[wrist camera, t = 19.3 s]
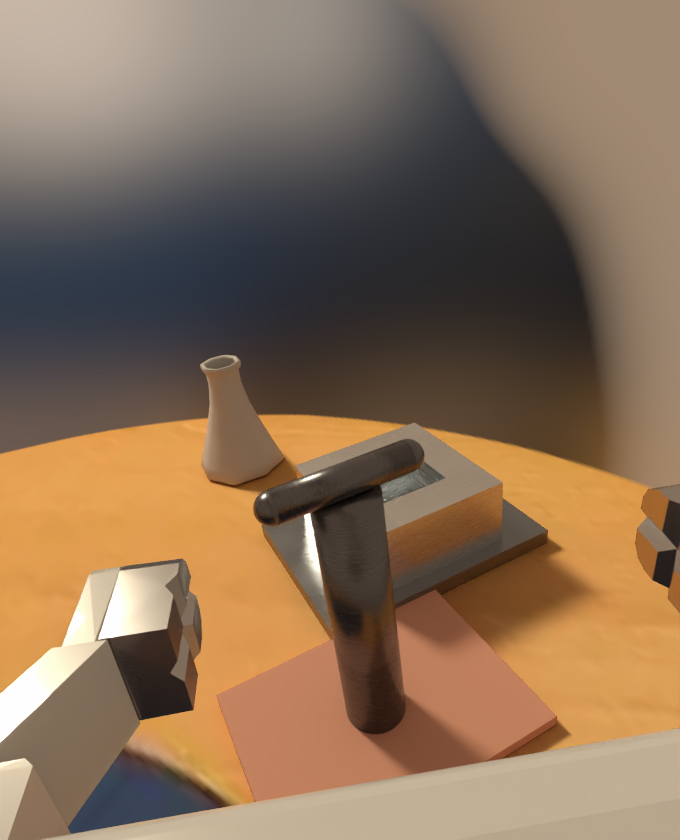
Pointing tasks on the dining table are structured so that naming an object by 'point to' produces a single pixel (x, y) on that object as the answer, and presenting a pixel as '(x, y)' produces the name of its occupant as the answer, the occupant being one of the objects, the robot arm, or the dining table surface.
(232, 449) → the flask
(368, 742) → the key mat
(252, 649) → the dining table surface
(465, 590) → the dining table surface
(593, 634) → the dining table surface
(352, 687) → the chuck key
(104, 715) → the robot arm
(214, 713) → the dining table surface
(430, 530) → the block
